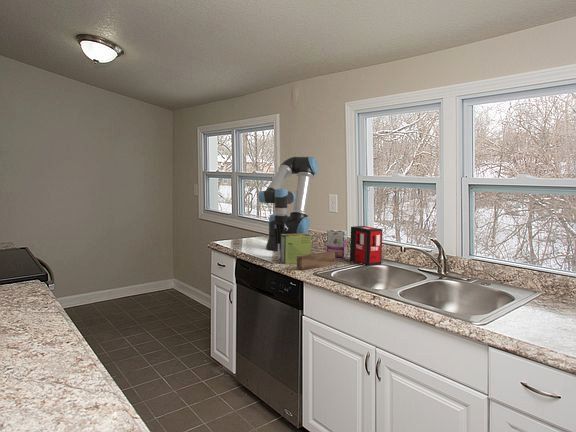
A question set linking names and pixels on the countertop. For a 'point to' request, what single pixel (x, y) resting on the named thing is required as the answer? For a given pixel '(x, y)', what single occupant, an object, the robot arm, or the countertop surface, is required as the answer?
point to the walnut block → (315, 260)
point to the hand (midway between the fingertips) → (280, 254)
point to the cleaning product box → (366, 245)
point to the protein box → (294, 247)
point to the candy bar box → (337, 242)
